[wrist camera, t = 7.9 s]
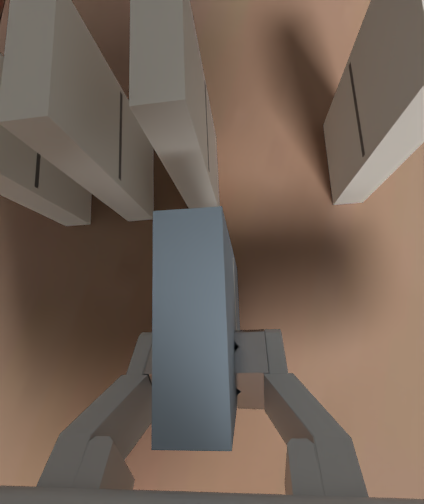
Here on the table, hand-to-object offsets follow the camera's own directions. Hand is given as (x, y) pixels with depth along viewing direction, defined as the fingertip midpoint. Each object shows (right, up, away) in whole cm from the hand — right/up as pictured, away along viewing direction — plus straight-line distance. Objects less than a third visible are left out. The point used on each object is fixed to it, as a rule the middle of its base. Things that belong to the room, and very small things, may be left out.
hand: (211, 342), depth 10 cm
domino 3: (0, +8, +8) cm, 11 cm away
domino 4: (-4, +7, +9) cm, 12 cm away
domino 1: (+8, +8, +7) cm, 13 cm away
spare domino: (+1, 0, +6) cm, 6 cm away
